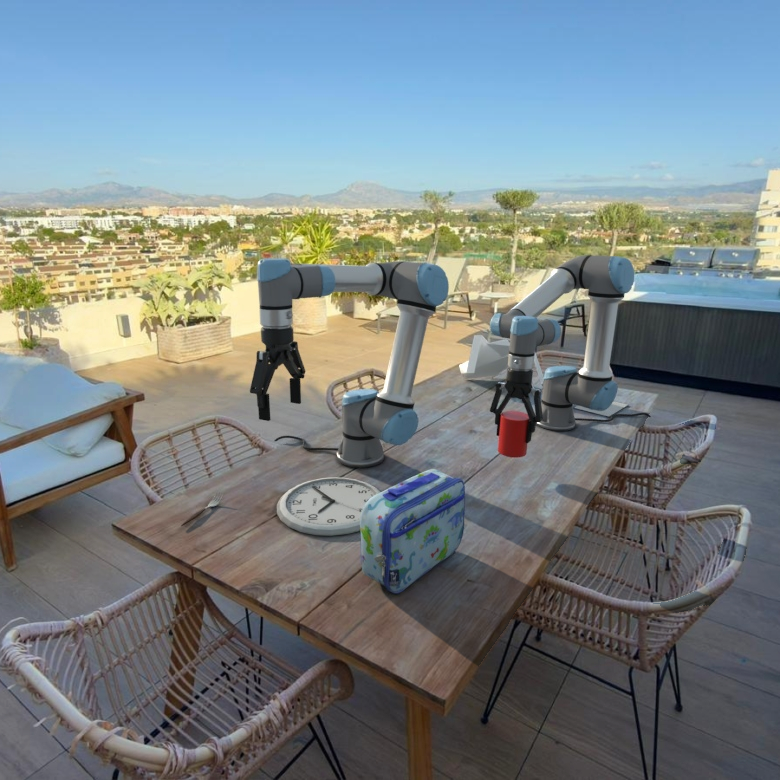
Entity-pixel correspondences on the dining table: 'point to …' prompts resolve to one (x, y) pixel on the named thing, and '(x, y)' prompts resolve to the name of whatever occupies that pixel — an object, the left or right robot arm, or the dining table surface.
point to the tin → (513, 434)
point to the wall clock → (325, 506)
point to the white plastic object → (490, 359)
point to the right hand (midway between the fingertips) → (513, 437)
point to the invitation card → (609, 411)
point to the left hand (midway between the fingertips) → (280, 411)
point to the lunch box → (411, 528)
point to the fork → (211, 504)
